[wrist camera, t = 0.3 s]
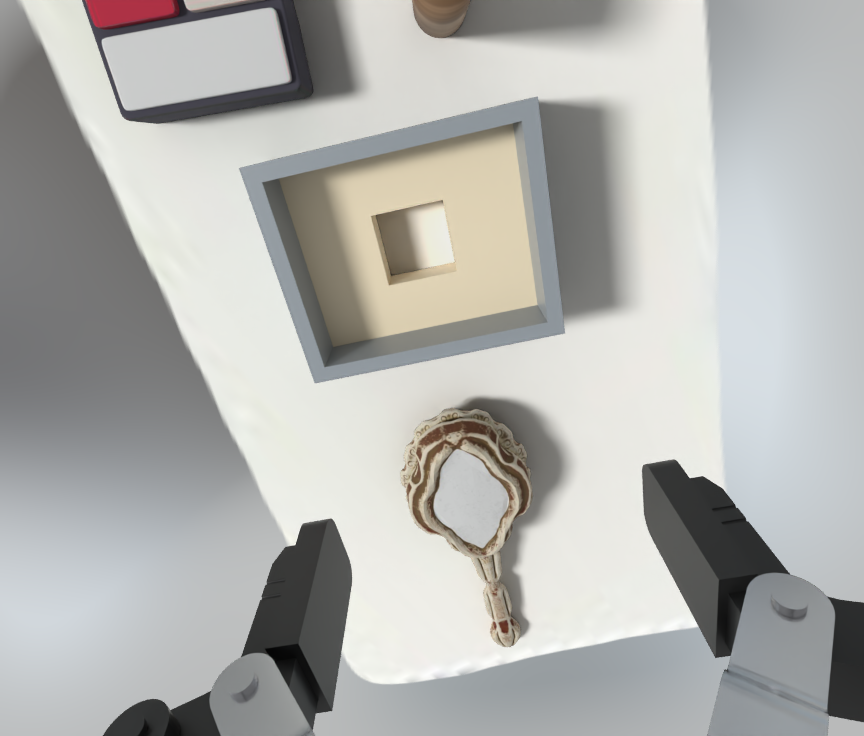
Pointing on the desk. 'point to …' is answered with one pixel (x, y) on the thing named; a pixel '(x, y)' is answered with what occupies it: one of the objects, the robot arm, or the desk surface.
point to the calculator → (199, 55)
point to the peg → (440, 16)
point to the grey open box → (427, 288)
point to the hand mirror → (470, 496)
